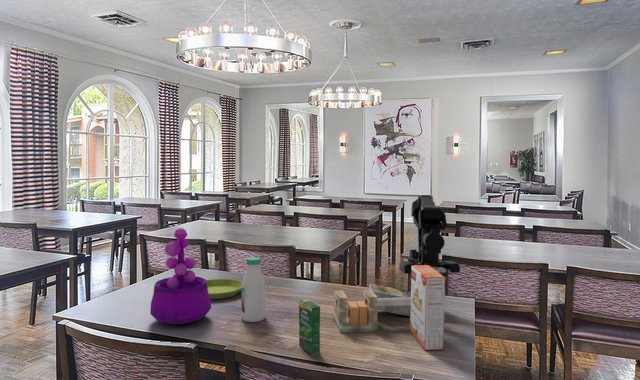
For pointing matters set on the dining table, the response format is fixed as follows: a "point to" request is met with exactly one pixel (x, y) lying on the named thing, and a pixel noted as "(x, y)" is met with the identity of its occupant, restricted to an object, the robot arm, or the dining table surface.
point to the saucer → (223, 288)
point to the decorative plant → (180, 288)
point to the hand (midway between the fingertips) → (428, 292)
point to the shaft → (394, 301)
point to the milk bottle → (253, 292)
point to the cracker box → (427, 307)
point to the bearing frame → (341, 312)
